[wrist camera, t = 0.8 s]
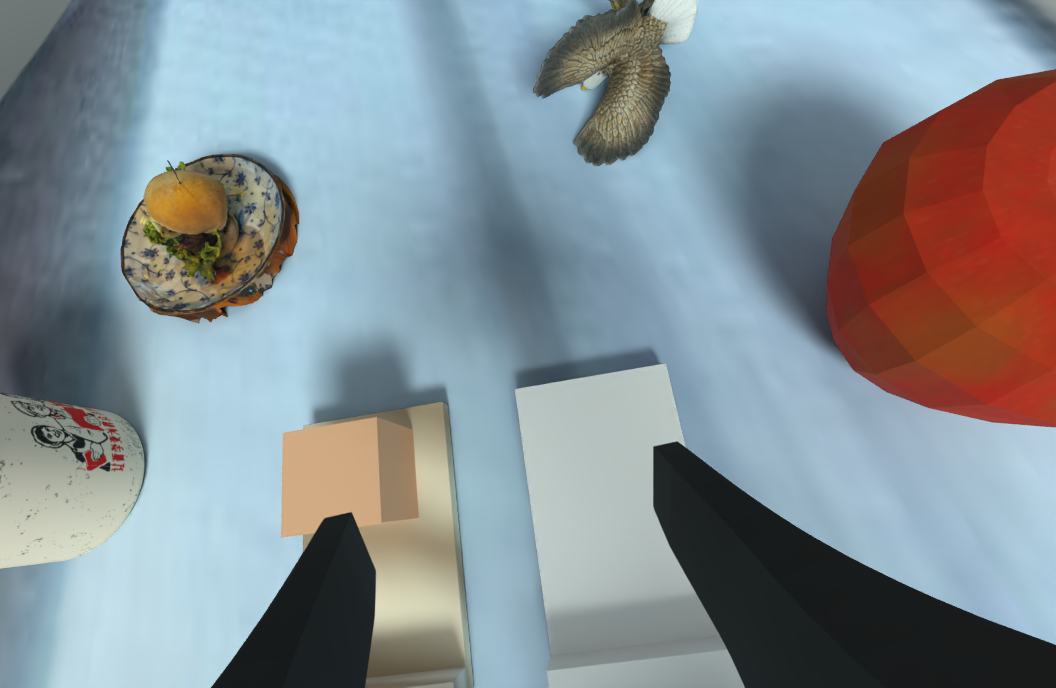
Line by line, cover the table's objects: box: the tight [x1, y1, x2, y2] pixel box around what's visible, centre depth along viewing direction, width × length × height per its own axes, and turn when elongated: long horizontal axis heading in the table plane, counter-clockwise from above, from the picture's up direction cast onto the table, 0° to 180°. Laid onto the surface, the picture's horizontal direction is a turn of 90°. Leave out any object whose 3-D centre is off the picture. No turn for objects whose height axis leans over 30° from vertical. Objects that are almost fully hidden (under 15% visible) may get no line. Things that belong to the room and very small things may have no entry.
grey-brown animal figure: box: [533, 0, 698, 166], centre depth 29 cm, size 8×8×10 cm
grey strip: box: [515, 363, 745, 688], centre depth 23 cm, size 14×8×3 cm, turn 8°
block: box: [281, 417, 419, 538], centre depth 24 cm, size 4×4×4 cm
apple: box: [826, 69, 1056, 427], centre depth 19 cm, size 12×12×14 cm
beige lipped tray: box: [303, 402, 474, 688], centre depth 24 cm, size 14×8×3 cm, turn 8°
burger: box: [121, 154, 299, 323], centre depth 30 cm, size 12×12×8 cm
